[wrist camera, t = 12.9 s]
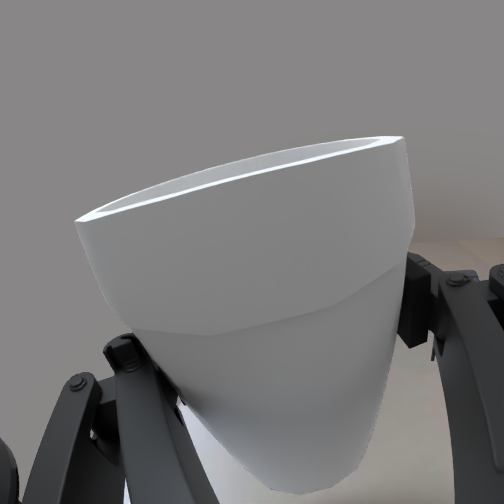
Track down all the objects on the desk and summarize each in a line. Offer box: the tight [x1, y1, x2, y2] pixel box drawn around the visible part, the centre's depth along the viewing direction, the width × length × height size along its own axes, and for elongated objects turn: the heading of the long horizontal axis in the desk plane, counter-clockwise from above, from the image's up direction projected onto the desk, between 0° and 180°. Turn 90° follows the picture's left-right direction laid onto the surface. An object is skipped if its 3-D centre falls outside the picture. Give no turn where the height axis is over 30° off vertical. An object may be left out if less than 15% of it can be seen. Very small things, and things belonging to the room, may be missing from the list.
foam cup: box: [74, 136, 415, 495], centre depth 11 cm, size 10×9×13 cm
